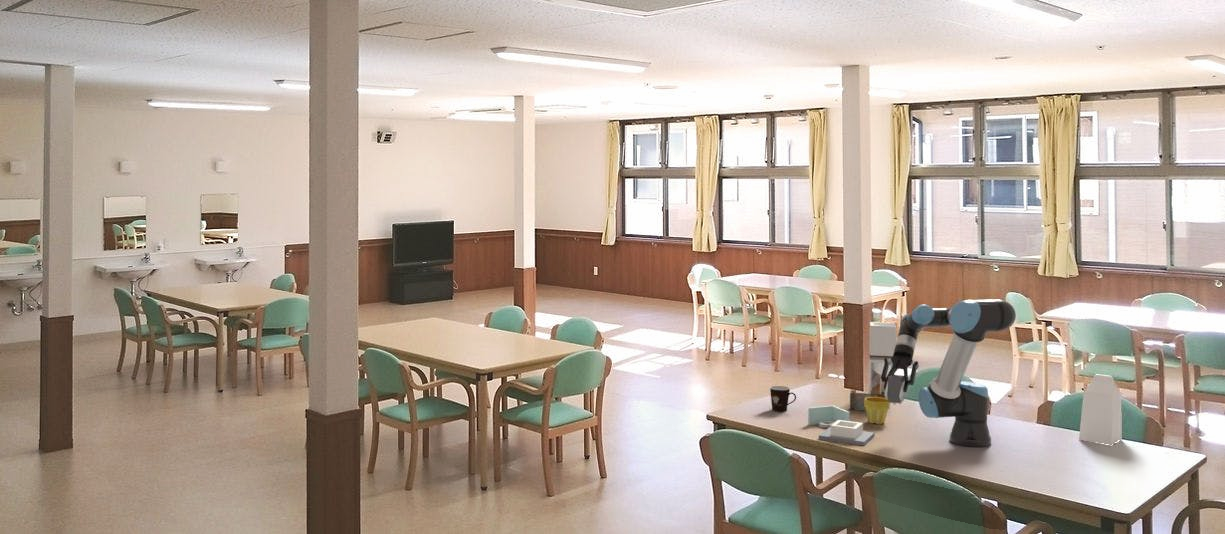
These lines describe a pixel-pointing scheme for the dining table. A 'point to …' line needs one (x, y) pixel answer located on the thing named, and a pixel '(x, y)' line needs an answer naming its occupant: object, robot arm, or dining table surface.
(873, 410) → the plant pot
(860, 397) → the ruin model on sheet
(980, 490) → the dining table surface
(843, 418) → the right angle wall
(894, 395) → the plug
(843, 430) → the socket
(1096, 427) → the milk
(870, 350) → the white stand
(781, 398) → the coffee mug
